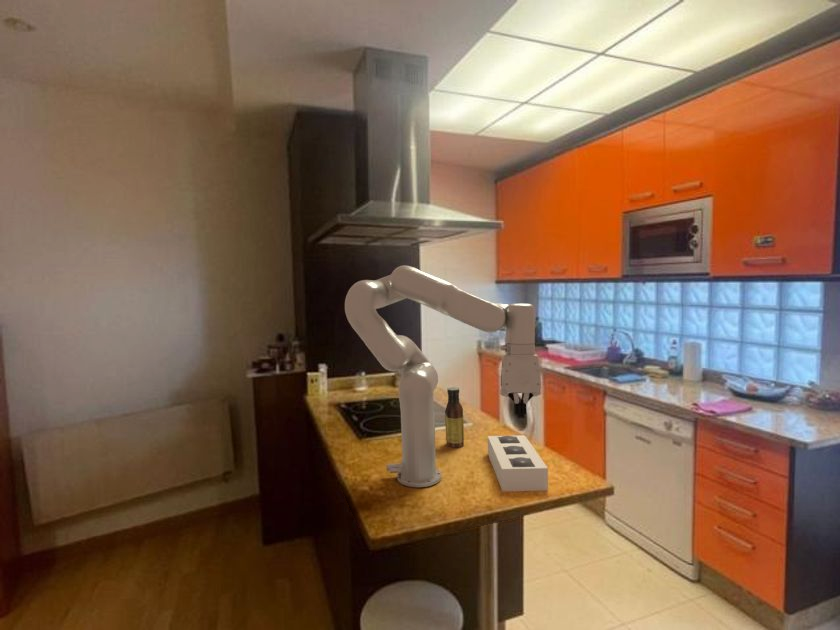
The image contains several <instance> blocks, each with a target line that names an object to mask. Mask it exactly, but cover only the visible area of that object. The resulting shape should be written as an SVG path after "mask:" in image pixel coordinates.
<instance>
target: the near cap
mask: <svg viewBox="0 0 840 630" xmlns="http://www.w3.org/2000/svg"><path fill="white" fill-rule="evenodd" d="M512 467H531V460H529V459H527V458H523V457H517V458H514V459H512Z"/></svg>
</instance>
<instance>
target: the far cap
mask: <svg viewBox="0 0 840 630" xmlns="http://www.w3.org/2000/svg"><path fill="white" fill-rule="evenodd" d="M501 436H502V437H501V444H503V443H517V438H516V437H513V436H514V435H501Z"/></svg>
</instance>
